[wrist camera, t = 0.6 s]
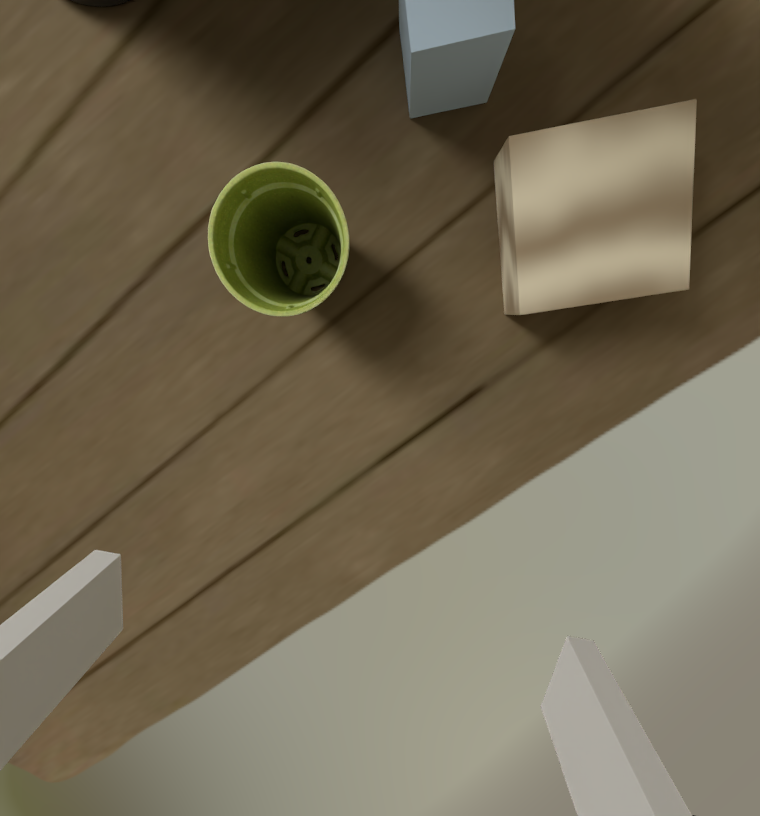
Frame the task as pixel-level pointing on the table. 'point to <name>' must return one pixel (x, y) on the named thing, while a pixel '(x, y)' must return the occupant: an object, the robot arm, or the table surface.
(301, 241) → the plant pot
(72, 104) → the table surface
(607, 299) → the birch block
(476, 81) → the slate blue block
